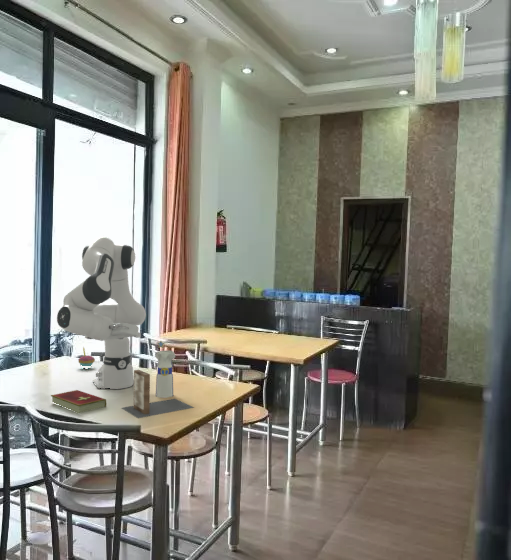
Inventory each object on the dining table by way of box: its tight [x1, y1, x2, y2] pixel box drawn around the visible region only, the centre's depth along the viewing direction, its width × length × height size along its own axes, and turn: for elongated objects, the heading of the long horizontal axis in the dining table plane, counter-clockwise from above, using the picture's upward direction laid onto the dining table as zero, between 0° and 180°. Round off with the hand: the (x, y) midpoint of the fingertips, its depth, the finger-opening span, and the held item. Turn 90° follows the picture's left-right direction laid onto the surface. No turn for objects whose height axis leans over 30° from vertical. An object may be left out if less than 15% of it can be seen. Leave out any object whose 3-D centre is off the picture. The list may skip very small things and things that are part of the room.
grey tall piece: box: [155, 340, 176, 399], centre depth 211 cm, size 8×9×25 cm
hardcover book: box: [50, 389, 107, 414], centre depth 195 cm, size 12×21×4 cm, turn 51°
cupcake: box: [78, 346, 96, 367], centre depth 264 cm, size 9×8×12 cm
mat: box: [121, 398, 195, 419], centre depth 192 cm, size 16×24×1 cm, turn 128°
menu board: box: [133, 369, 151, 414], centre depth 188 cm, size 10×2×15 cm, turn 38°
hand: (130, 336), depth 184 cm, fingers open, 8 cm apart
